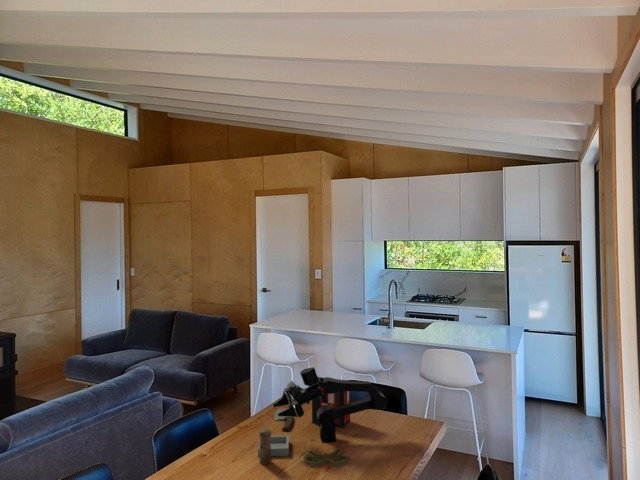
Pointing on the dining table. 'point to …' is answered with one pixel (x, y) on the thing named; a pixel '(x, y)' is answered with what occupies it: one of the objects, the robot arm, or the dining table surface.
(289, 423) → the cleaver
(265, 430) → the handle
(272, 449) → the box
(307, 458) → the cookie cutter
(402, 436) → the dining table surface
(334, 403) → the cleaning product box
